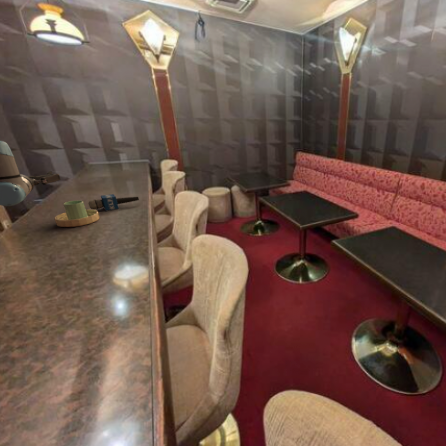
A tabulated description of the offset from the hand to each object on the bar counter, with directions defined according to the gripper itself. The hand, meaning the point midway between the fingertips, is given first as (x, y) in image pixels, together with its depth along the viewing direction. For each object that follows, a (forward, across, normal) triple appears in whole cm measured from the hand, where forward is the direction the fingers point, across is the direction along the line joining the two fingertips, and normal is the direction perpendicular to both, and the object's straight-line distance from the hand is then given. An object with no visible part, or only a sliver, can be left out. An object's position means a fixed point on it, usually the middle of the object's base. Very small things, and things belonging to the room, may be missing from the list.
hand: (28, 175), depth 102 cm
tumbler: (+17, +9, -27) cm, 34 cm away
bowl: (+17, +9, -28) cm, 34 cm away
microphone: (+36, +26, -28) cm, 52 cm away
